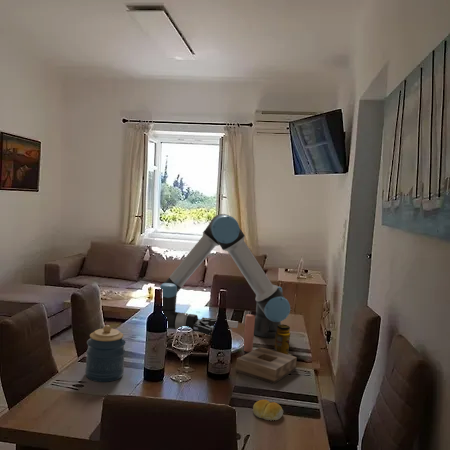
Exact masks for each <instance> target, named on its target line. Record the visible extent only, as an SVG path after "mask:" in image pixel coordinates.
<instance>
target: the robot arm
mask: <svg viewBox="0 0 450 450" xmlns="http://www.w3.org/2000/svg"><path fill="white" fill-rule="evenodd" d="M245 237H246V235H245V234H244V232H243V231H242V228H240V225H239V222H238V220H237V219H235V218H234V217H233V216H231V215H229V214H225V213H219V214H217V215H215V216H214V217H213V218H212V219H211V220H210V222H209V224H208V225H207V226H206V228H205V229H204V230H203V232H202V237H200V239H199V240H198V241H197V242H196V244H195V245H194V246H193V247H192V248H191V250H190V251H189V252H188V253H187V255H186V256H185V258H184V259H182V261H181V262H180V264H179V265H178V266H177V267H176V268H175V269H174V271H173V272H172V273H171V274H170V276H169V277H168V278H167V279H166V281H165V282H163V283H162V284H160V286H159V289H160V288H161V289H163V306H162V311H163V313H164V315H165V316H166V317H167V321H168V328H167V329H170V330H176V331H177V329H178V328H179V327H181V326H189V327H191V328H192V329H193V331H195V332H198V333H201V334H204V335H206V336H208V337H209V336H210V335H211V332H212V329H213V328H214V324H215V322H216V319H217V318H218V317H202V318H201V319H200V318H199V316H198V315H197V314H194V313H193V314H192V313H186V312H179V311H178V312H177V311H176V309H177V308H176V307H177V298H178V296H177V294H178V293H179V291H180V290H181V289H182V287H183V286H184V285H185V284H186V282H188V280H189V279H190V277H191V276H192V275H193V274H194V273H195V271H197V269H198V268H199V267H200V266H201V264H202V263H203V262H204V261H205V259H206V258H208V256H209V255H210V254H211V252H213V250H214V248H215V247H216V246H217V247H218V246H219V247H220V248H221V250H222V251H226V252H228V254H229V255H230V257H231V258H232V260H233V262H234V263H235V265H236V266H237V268H238V269H239V271H240V272H241V274H242V275H243V277H244V278H245V280H246V281H247V283H248V285H249V287H250V288H251V290H252V291H253V293H254V294H255V302H256V307H255V325H254V336H258V337H260V338H261V337H262V338H269V339H271V338H272V339H273V338H274V339H275V336H276V331H277V326H278V325H282V322H283V321H285V320H286V319H287V317H289V315H290V312H291V304H290V302H289V300H288V299H287V298H285V296H284V294H283V288H282V287H281V286H278V285H276V284H273V283H272V282H271V280H270V279H269V277H268V276H267V273H266V272H265V271H264V269H263V268H262V266H261V265H260V263H259V262H258V260H257V258H256V257H255V256H254V254H253V253H252V251H251V249H250V248H249V246H248V245H247V242H245ZM226 320H227V322H228V325H229V327H228V328H234V329H238V328H239V321H235V320H229V319H226ZM229 330H230V331H231V332H232V331H233V330H232V329H229Z"/></svg>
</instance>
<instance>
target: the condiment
mask: <svg viewBox="0 0 450 450" xmlns="http://www.w3.org/2000/svg"><path fill="white" fill-rule="evenodd" d="M290 329H291V327H290V326H289V325H288V324H281V325H278V326H277V331H276V336H275V338H274V340H275V341H274V350H273V351H276V352H280V353H283V354H287V355H291V356H293V354H291V353H289V349H290V341H291V340H290V339H291V333H290Z"/></svg>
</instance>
